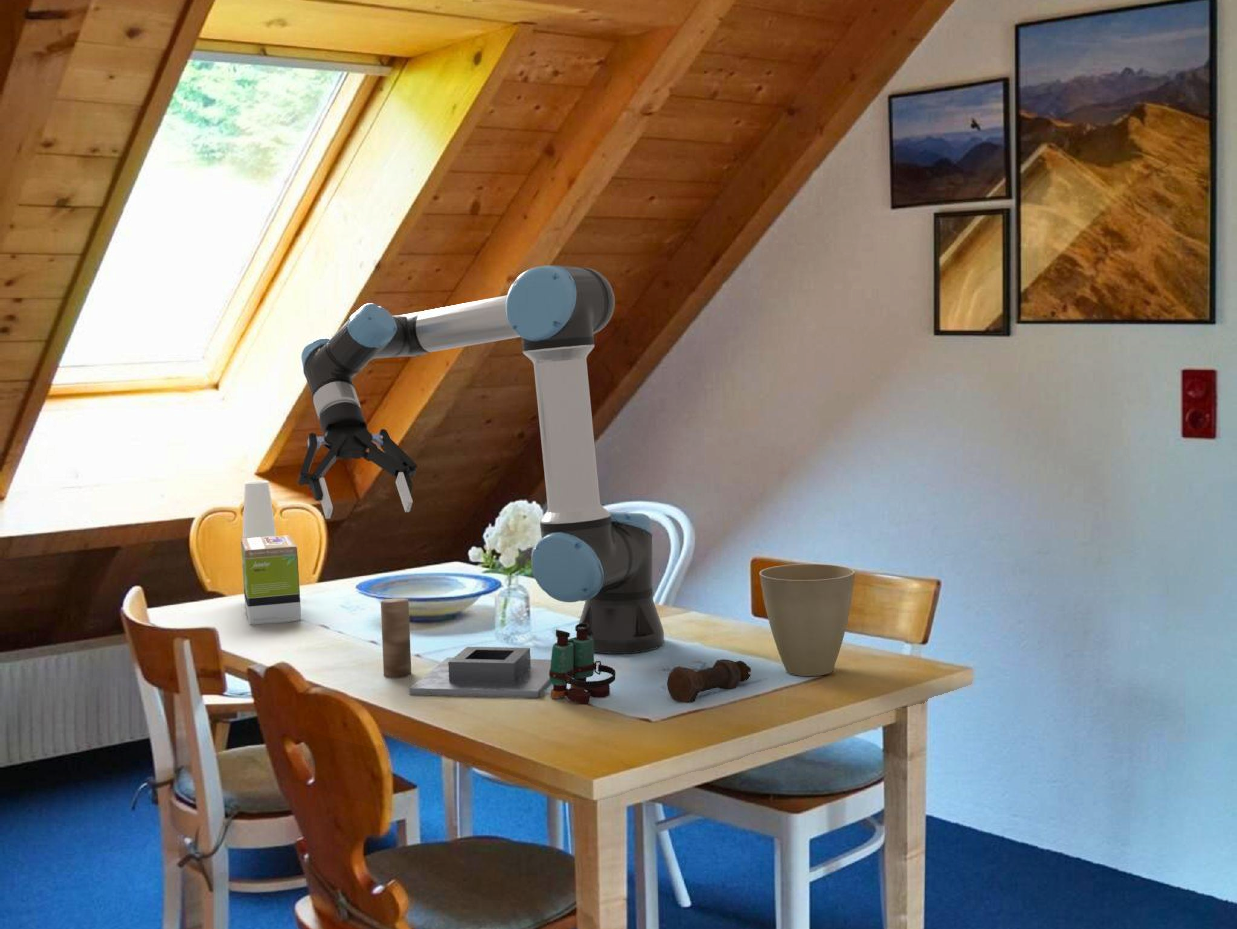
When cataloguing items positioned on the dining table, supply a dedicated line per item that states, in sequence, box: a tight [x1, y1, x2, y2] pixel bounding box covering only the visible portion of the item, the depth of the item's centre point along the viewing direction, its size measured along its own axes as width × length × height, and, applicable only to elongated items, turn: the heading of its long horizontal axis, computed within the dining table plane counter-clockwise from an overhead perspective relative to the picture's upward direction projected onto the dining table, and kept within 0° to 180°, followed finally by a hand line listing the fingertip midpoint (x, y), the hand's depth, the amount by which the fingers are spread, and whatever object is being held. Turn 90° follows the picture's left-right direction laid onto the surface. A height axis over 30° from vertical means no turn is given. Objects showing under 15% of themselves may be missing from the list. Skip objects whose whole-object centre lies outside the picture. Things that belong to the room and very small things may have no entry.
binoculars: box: [549, 622, 616, 705], centre depth 220 cm, size 9×11×10 cm
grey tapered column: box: [242, 480, 277, 539], centre depth 304 cm, size 7×7×24 cm
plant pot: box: [759, 563, 856, 677], centre depth 232 cm, size 15×15×16 cm
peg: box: [380, 597, 412, 679], centre depth 236 cm, size 4×4×12 cm
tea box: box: [240, 534, 302, 626], centre depth 285 cm, size 15×10×15 cm
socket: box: [408, 646, 552, 699], centre depth 232 cm, size 20×20×4 cm
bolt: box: [666, 658, 752, 704], centre depth 222 cm, size 6×5×15 cm
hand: (369, 510), depth 244 cm, fingers open, 13 cm apart
